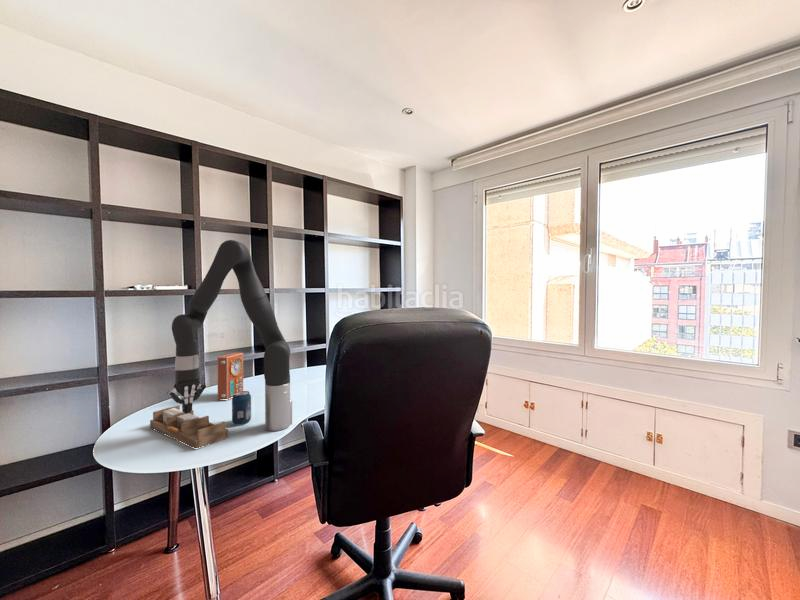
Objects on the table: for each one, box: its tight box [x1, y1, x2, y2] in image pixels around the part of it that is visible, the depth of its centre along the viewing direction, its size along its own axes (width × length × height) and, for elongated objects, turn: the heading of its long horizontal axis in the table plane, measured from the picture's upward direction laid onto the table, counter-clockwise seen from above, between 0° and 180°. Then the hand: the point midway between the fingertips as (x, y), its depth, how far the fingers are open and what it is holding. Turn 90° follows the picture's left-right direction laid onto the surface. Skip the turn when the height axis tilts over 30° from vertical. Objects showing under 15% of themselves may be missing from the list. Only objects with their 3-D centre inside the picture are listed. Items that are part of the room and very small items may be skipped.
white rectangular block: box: [177, 413, 200, 431], centre depth 121 cm, size 4×8×5 cm, turn 58°
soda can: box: [231, 390, 252, 426], centre depth 131 cm, size 7×7×12 cm
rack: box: [149, 404, 229, 448], centre depth 121 cm, size 11×34×6 cm, turn 59°
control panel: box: [216, 352, 244, 400], centre depth 164 cm, size 21×7×15 cm
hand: (187, 413), depth 121 cm, fingers closed
